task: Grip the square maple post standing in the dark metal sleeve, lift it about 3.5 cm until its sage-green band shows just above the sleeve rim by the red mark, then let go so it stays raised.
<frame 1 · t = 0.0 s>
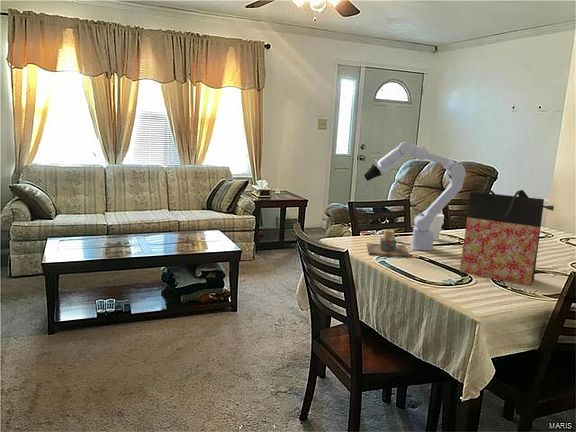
hand: (365, 178, 219), 32 cm above the table, fingers open, 7 cm apart
stand base: (387, 251, 215), on the table
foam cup: (432, 239, 243), on the table
gift bag: (500, 277, 183), on the table
post: (388, 239, 214), point 5 cm above the table, slide at 0.0 cm
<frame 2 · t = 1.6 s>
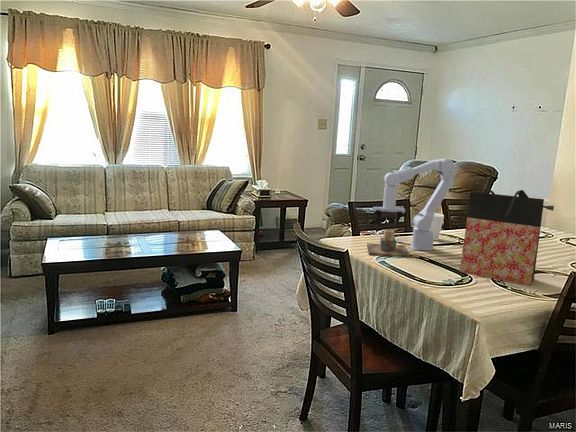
hand: (387, 227, 220), 10 cm above the table, fingers open, 7 cm apart
nothing on the table moved.
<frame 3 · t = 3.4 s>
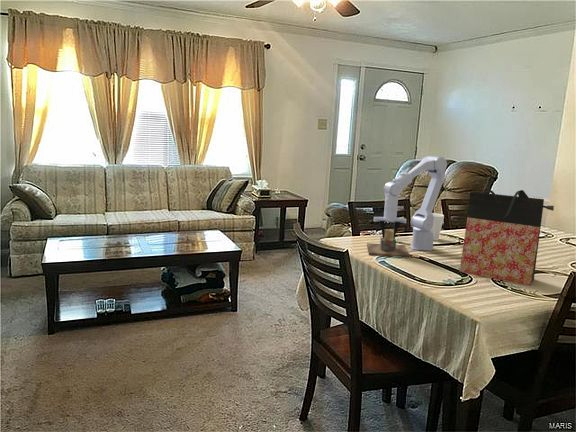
hand: (388, 237, 214), 6 cm above the table, fingers closed on post, 4 cm apart
post: (388, 239, 214), point 5 cm above the table, slide at 0.0 cm, touching gripper
everything else where it was.
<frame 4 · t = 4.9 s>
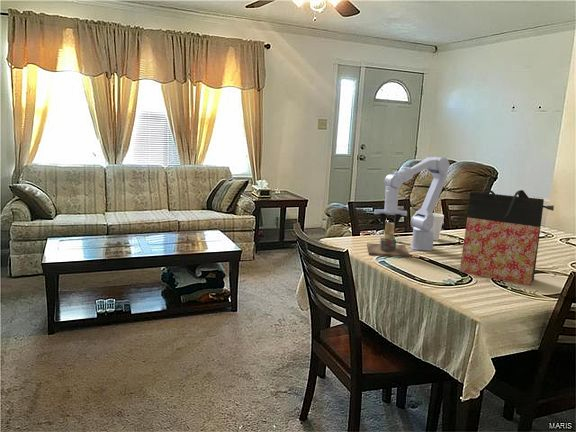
hand: (389, 230, 213), 10 cm above the table, fingers closed on post, 4 cm apart
post: (388, 232, 213), point 9 cm above the table, slide at 3.4 cm, touching gripper
everything else where it was.
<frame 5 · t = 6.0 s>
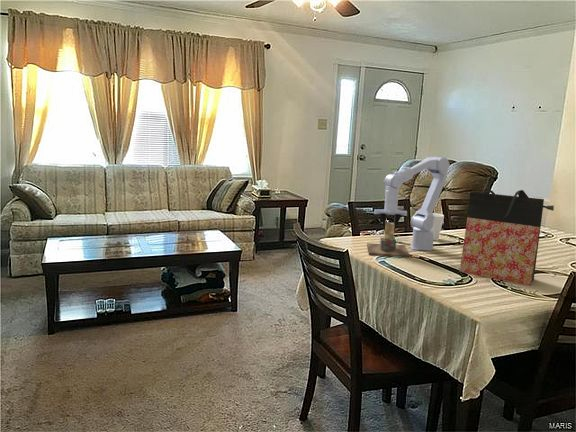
hand: (389, 230, 213), 10 cm above the table, fingers closed on post, 4 cm apart
post: (388, 232, 213), point 9 cm above the table, slide at 3.4 cm, touching gripper
everything else where it was.
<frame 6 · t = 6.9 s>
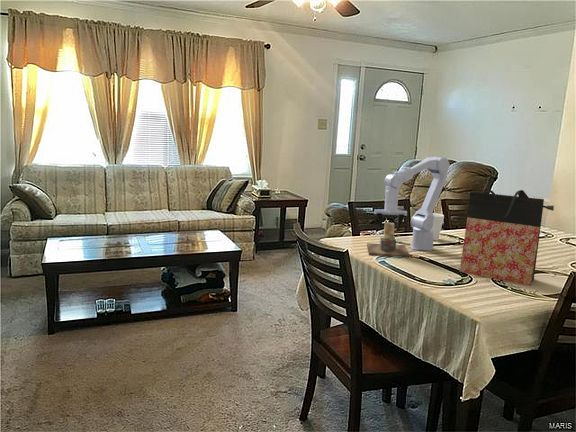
hand: (389, 230, 213), 10 cm above the table, fingers open, 7 cm apart
post: (388, 232, 213), point 9 cm above the table, slide at 3.4 cm
everything else where it was.
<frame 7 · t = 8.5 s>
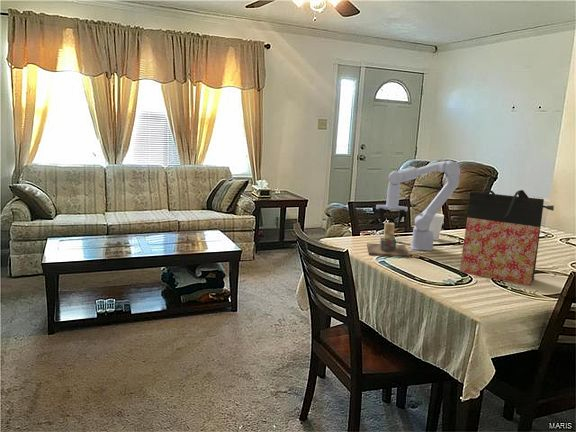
hand: (390, 224, 223), 10 cm above the table, fingers open, 7 cm apart
nothing on the table moved.
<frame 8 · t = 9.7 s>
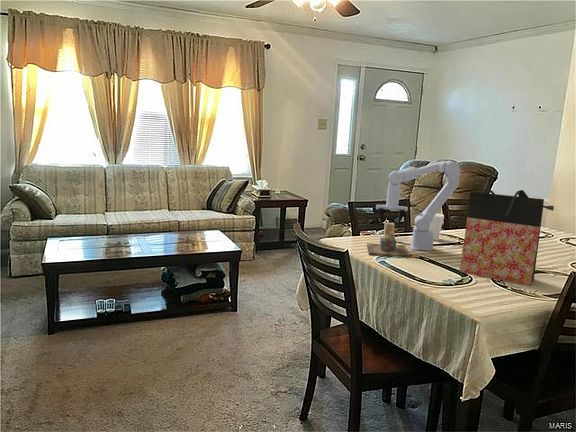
hand: (390, 224, 223), 10 cm above the table, fingers open, 7 cm apart
nothing on the table moved.
at the end: post slide at 3.4 cm; the gripper is holding nothing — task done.
